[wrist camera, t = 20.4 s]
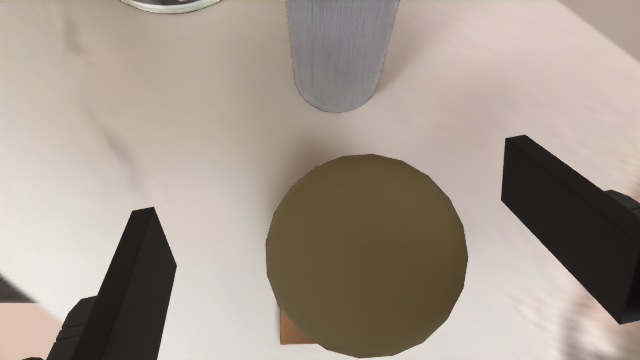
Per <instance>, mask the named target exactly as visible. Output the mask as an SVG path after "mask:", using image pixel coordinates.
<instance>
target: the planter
mask: <svg viewBox="0 0 640 360" xmlns="http://www.w3.org/2000/svg"><path fill="white" fill-rule="evenodd" d="M399 2H400V0H286V9H287V18H288V27H289V36H290V44H291V53H292V62H293V71H294V77H295V82H296V85H297V88H298V90H299V92H300V94H301V95H302V96H303V98H304V99H305V100H306V101H307V102H308V103H310V104H311V105H313V106H314V107H316V108H318V109H321V110H324V111H327V112H335V113H339V112H347V111H351V110H353V109H356V108H358V107H360V106H361V105H363V104H364V103H365V102H367V101H368V100H369V99H370V97H371V96H372V95H373V93H374V91H375V89H376V87H377V84H378V82H379V78H380V75H381V71H382V67H383V63H384V59H385V56H386V52H387V48H388V44H389V40H390V36H391V33H392V29H393V25H394V21H395V17H396V13H397V10H398V6H399Z"/></svg>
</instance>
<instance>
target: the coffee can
mask: <svg viewBox="0 0 640 360" xmlns="http://www.w3.org/2000/svg"><path fill="white" fill-rule="evenodd" d="M120 1H122V2H124V3H126V4H128V5H130V6H132V7H135V8H138V9H141V10H144V11H148V12H154V13H165V14H175V13H185V12H191V11H195V10H199V9H202V8H205V7H208V6H210V5H212V4H215V3H217V2H219V1H220V0H120Z"/></svg>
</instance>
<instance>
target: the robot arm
mask: <svg viewBox="0 0 640 360" xmlns="http://www.w3.org/2000/svg"><path fill="white" fill-rule="evenodd" d="M501 201H502V202H503V203H504V204H505V205H506V206H507V207H508V208H509V209H510V210H511V211H512V212H513V213H514V214H515V215H516V216H517V217H518V218H519V219H520V221H521V222H522V223H523V224H524V225H525V226H526V227H527V228H528V229H529V230H530V231H531V232H532V233H533V234H534V235H535V236H536V237H537V238H538V239H539V240H540V242H541V243H542V244H543V245H544V246H545V247H546V248H547V249H548V250H549V251H550V252H551V253H552V254H553V255H554V256H555V257H556V258H557V259H558V260H559V261H560V262H561V264H562V265H563V266H564V267H565V268H566V269H567V270H568V271H569V272H570V273H571V274H572V275H573V276H574V277H575V278H576V279H577V280H578V281H579V282H580V283H581V285H582V286H583V287H584V288H585V289H586V290H587V291H588V292H589V293H590V294H591V295H592V296H593V297H594V298H595V299H596V300H597V301H598V302H599V303H600V304H601V305H602V307H603V308H604V309H605V310H606V311H607V312H608V313H609V314H610V315H611V316H612V317H613V318H614V319H615V320H616V321H617V322H618V323H619V324H620V325H621V324H625V323H630V322H634V321H639V320H640V203H638V202H637V201H635V200H634V199H632V198H631V197H629V196H627V195H624V194H622V193H619V192H616V191H614V190H608V191H603V190H601V189H600V188H598V187H597V186H596V185H594V184H593V183H592V182H590V181H589V180H587V179H586V178H585V177H583V176H582V175H580V174H579V173H578V172H576V171H575V170H574V169H572V168H571V167H569V166H568V165H567V164H565V163H564V162H562V161H561V160H560V159H558V158H557V157H556V156H554V155H553V154H551V153H550V152H549V151H547V150H546V149H544V148H543V147H542V146H540V145H539V144H538V143H536V142H535V141H533V140H532V139H531V138H529V137H528V136H526V135H520V136H515V137H510V138H505V151H504V165H503V180H502V194H501ZM176 268H177V265H176V262H175V260H174V257H173V254H172V252H171V249H170V247H169V244H168V242H167V239H166V236H165V234H164V231H163V229H162V226H161V224H160V221H159V219H158V216H157V213H156V211H155V208H154V207H150V208H145V209H140V210H134V211H132V213H131V215H130V218H129V220H128V223H127V225H126V227H125V230H124V232H123V235H122V237H121V239H120V242H119V244H118V247H117V249H116V251H115V254H114V256H113V259H112V261H111V264H110V266H109V268H108V271H107V273H106V276H105V278H104V280H103V283H102V285H101V288H100V290H99V292H98V295H97V296H93V297H88V298H83V299H81V300H80V301H79V302H78V303H77V304H76V305H75V306H74V307H73V308H72V310H71V311H70V312H69V313H68V315H67V317H66V319H65V321H64V323H63V325H62V330H60V332H59V334H58V336H57V338H56V342H55V343H54V345H53V347H52V349H51V351H50V353H49V355H48V357H47V359H46V360H157V357H158V352H159V348H160V343H161V338H162V333H163V329H164V324H165V319H166V315H167V310H168V305H169V300H170V296H171V291H172V286H173V282H174V277H175V272H176ZM23 360H43V359H42V358H36V357H30V358H26V359H23Z"/></svg>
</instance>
